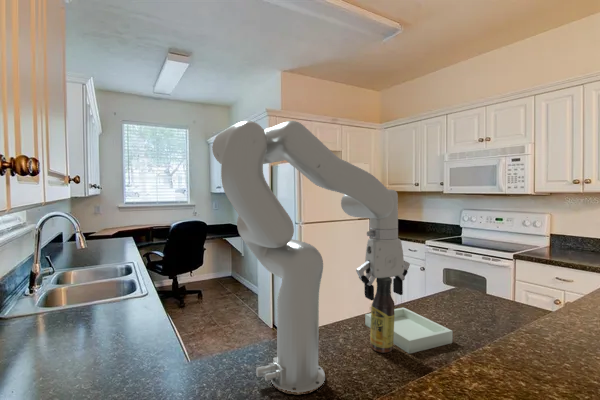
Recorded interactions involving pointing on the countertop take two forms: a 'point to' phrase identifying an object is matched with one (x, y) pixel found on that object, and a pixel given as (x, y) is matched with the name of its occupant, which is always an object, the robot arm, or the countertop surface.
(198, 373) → the countertop surface
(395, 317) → the tray
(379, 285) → the sauce bottle
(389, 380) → the countertop surface
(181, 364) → the countertop surface
